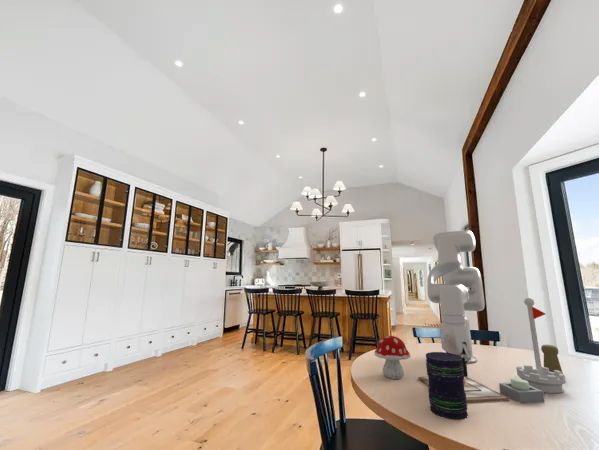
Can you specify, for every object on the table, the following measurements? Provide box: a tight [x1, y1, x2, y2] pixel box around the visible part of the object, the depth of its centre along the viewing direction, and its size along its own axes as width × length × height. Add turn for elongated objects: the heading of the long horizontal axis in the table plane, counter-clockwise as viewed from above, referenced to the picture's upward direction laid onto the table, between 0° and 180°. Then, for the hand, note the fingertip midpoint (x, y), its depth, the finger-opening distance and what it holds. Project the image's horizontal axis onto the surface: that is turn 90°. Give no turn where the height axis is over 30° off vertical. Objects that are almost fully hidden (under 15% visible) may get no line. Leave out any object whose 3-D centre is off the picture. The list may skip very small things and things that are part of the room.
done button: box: [510, 378, 529, 391], centre depth 93 cm, size 5×5×4 cm
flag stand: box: [515, 297, 566, 394], centre depth 104 cm, size 13×13×30 cm
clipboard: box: [417, 375, 510, 404], centre depth 100 cm, size 22×18×1 cm
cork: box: [540, 344, 564, 374], centre depth 114 cm, size 6×6×11 cm
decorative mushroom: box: [374, 335, 412, 380], centre depth 114 cm, size 14×14×15 cm
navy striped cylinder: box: [425, 351, 469, 421], centre depth 84 cm, size 10×10×15 cm
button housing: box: [498, 382, 545, 404], centre depth 93 cm, size 8×8×3 cm
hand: (458, 373), depth 102 cm, fingers closed on marker, 3 cm apart
